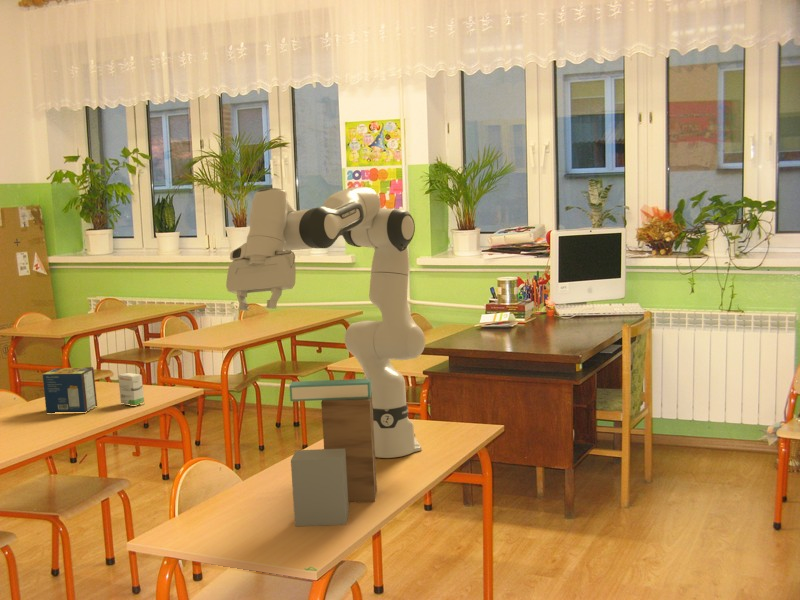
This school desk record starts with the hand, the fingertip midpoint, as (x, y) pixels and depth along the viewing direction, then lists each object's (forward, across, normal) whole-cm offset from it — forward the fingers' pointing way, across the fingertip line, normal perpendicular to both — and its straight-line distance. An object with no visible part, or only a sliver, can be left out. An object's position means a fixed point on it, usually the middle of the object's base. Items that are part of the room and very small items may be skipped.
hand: (257, 309), depth 209 cm
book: (+17, -3, -26) cm, 31 cm away
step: (+47, -7, -23) cm, 53 cm away
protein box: (+20, +148, -50) cm, 157 cm away
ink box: (+16, +134, -66) cm, 150 cm away
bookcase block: (+41, -4, -37) cm, 56 cm away
